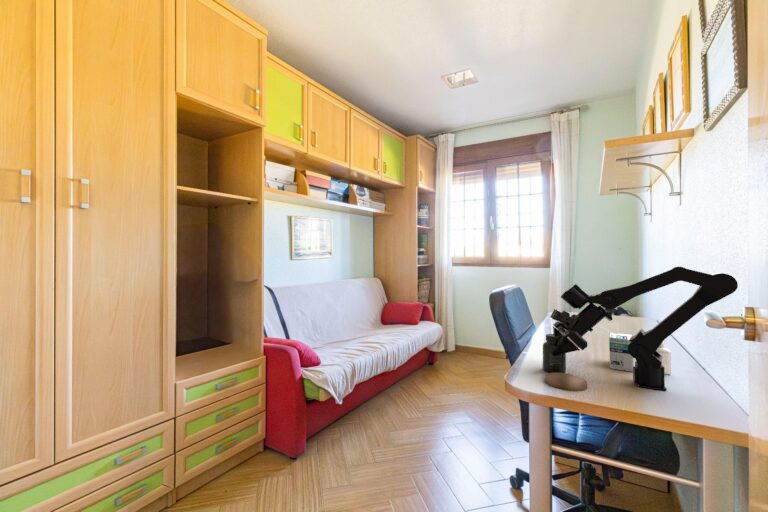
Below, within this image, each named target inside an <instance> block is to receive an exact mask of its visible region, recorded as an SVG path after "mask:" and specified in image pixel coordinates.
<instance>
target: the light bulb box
mask: <svg viewBox="0 0 768 512" xmlns="http://www.w3.org/2000/svg"><path fill="white" fill-rule="evenodd" d="M632 336H634V335H633V334H628V333H627V334H625V333H620V332H619V333H618V332H612V331H610V333H609V337H608V341H609V342H608V343H609V344H608V345H609V346H608V348H609V369H611V370H612V369H613V370H618V371H624V370H625V372H630V371H632V372H631V373H633V366H634V365H635V362H634V361H635V360H634V359H635V358H633V357H632V356H631V355H630V354H629V352H628V345H629V343H630V341H629V340H630V338H631V337H632Z"/></svg>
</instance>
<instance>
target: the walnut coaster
mask: <svg viewBox="0 0 768 512" xmlns="http://www.w3.org/2000/svg"><path fill="white" fill-rule="evenodd" d="M544 378H545V379H544V380H545V383H546V384H547V385H549V386H551V387H552V388H553V387H554V388H555V389H560V390H564V391H570V392H581V391H582V392H583V391H586V390H587V389H588V381H587V379H585V378H583V377H581V376H579V375H576V374H571V373H546V374H545V376H544Z"/></svg>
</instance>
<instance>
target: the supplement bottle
mask: <svg viewBox="0 0 768 512" xmlns="http://www.w3.org/2000/svg"><path fill="white" fill-rule="evenodd" d="M561 341H562V336H561V335H557V334H553V333H547V334H545V342H543V343H542V370H543V371H544V372H545V373H547V372H548V373H566V372H567V353H564V354H561V355H557V356H553V355H552V352H553V351H554V350H555V348H556V347H557V346H558V345H559V344H560V343H561ZM548 373H547V374H548Z"/></svg>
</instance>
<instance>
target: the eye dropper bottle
mask: <svg viewBox="0 0 768 512" xmlns="http://www.w3.org/2000/svg"><path fill="white" fill-rule="evenodd" d="M656 351H657V352H658V353H659V354H660V355H661V356H662V364H661V365H662V366H664V375H666V374H667V375H666V376H668V375H671V374H672V352H671V351H670V349H669V348H666V347H665V340H664V341H663V342H662V343H661V345H660V346H659V347H658V349H657V350H656Z"/></svg>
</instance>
